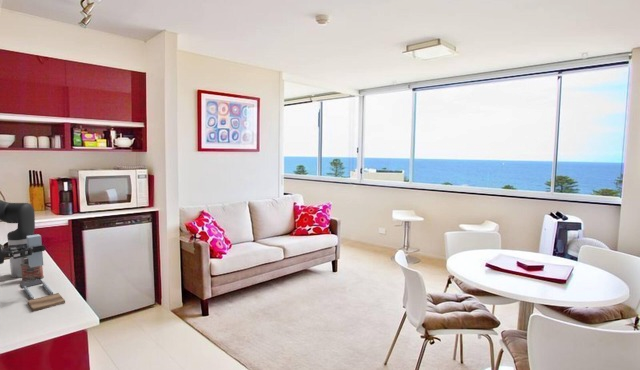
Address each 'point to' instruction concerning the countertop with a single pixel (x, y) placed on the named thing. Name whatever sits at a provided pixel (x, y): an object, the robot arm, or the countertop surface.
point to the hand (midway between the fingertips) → (43, 246)
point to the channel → (43, 285)
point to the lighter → (31, 271)
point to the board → (46, 302)
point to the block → (36, 257)
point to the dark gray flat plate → (31, 283)
